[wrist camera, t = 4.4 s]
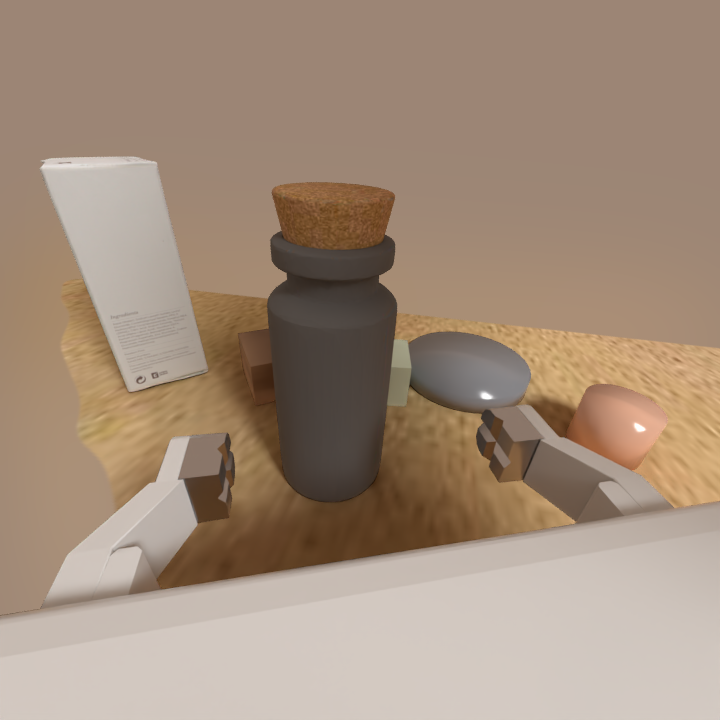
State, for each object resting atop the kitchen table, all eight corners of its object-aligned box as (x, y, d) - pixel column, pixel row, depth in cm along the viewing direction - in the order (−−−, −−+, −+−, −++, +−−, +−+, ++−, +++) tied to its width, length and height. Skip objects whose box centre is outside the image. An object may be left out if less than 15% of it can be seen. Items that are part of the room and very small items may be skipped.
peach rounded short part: (605, 420, 27) (627, 381, 25) (657, 468, 23) (687, 426, 21) (552, 426, 26) (570, 386, 24) (596, 475, 22) (621, 433, 20)
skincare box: (210, 373, 29) (166, 162, 21) (123, 397, 26) (34, 162, 18) (185, 330, 35) (143, 152, 27) (111, 346, 32) (39, 150, 24)
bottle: (309, 419, 25) (301, 176, 17) (391, 442, 24) (424, 188, 16) (262, 483, 20) (220, 190, 12) (361, 518, 19) (385, 209, 11)
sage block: (402, 376, 30) (407, 340, 28) (406, 407, 27) (411, 368, 25) (342, 373, 30) (343, 336, 28) (338, 404, 27) (338, 364, 25)
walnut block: (302, 359, 32) (300, 323, 30) (321, 392, 28) (321, 353, 26) (243, 371, 30) (237, 333, 28) (255, 407, 26) (250, 366, 24)
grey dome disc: (489, 342, 36) (492, 329, 35) (552, 407, 27) (558, 392, 27) (390, 347, 34) (392, 333, 33) (425, 418, 26) (428, 403, 25)
